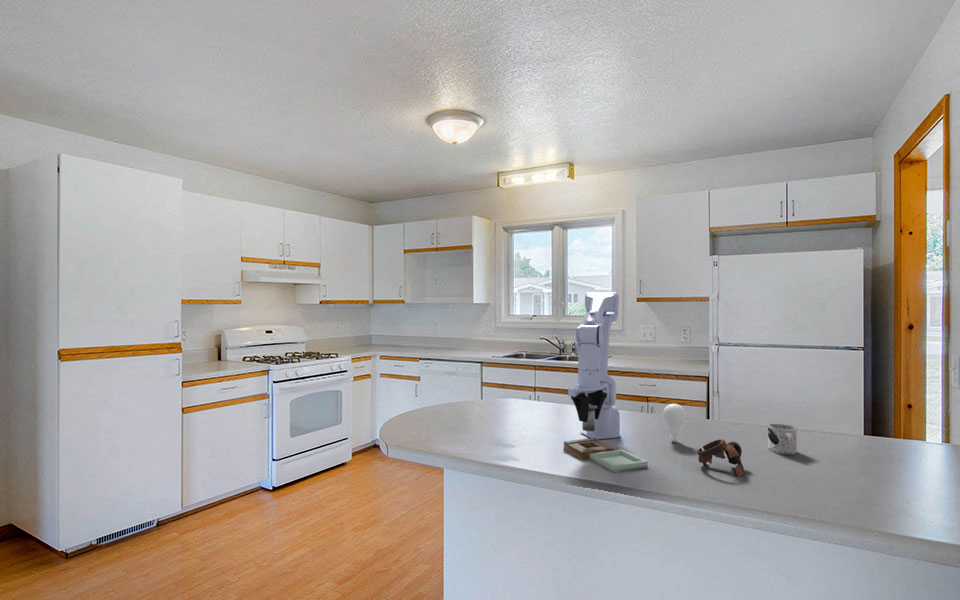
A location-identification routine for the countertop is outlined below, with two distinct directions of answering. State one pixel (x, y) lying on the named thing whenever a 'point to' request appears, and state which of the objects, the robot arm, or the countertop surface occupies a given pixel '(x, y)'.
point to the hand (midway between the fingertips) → (588, 420)
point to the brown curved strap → (722, 453)
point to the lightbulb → (674, 420)
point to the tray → (618, 460)
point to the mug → (782, 439)
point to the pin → (590, 418)
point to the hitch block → (586, 447)
